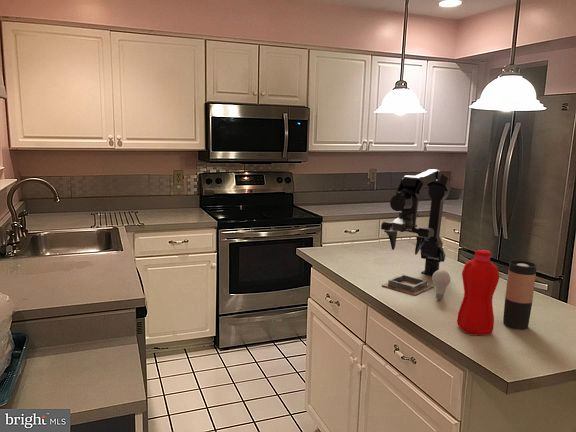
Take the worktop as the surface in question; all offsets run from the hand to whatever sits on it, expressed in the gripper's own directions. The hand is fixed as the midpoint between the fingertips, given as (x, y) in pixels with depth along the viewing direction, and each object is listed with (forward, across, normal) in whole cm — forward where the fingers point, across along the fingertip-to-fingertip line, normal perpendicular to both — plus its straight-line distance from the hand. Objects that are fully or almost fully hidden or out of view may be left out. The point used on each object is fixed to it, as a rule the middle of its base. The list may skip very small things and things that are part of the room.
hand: (404, 252), depth 178 cm
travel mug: (+15, +42, -4) cm, 45 cm away
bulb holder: (+14, 0, +6) cm, 15 cm away
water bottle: (+16, +33, -17) cm, 40 cm away
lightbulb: (+15, +15, 0) cm, 21 cm away
